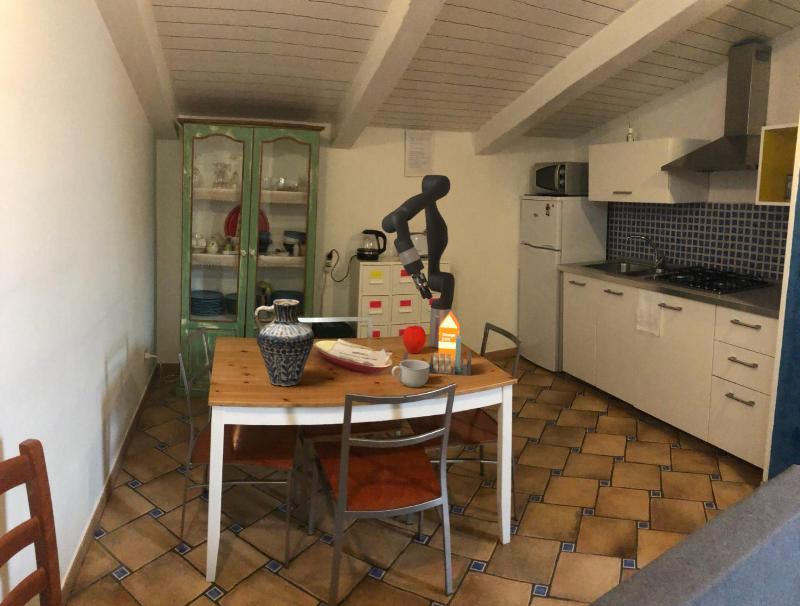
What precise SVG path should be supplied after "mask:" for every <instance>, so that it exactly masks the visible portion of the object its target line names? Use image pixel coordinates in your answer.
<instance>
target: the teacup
mask: <svg viewBox="0 0 800 606" xmlns="http://www.w3.org/2000/svg"><path fill="white" fill-rule="evenodd" d="M429 367H430V365H429V364H428V362H426V361H424V360H419V359H408V360H404V361H402V360H401V361H400V363H399V365H395V366H393V368H392V369H391V374H392V376H393V377H394V378H396V379H398V381H399V382H401V383H403V385H404V386H406V387H409V388H420V387H423V385H425V384H426V383H428V380H429ZM397 370H399V375H397V374H396V371H397Z"/></svg>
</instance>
